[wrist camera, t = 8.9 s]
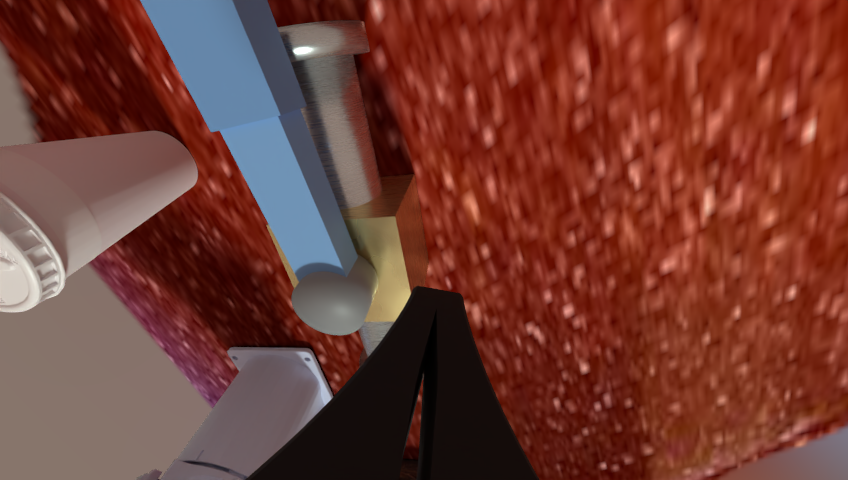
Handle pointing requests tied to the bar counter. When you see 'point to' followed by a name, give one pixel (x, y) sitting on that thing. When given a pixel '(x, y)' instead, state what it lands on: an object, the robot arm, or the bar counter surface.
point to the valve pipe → (357, 169)
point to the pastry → (408, 470)
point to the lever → (270, 147)
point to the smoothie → (79, 204)
